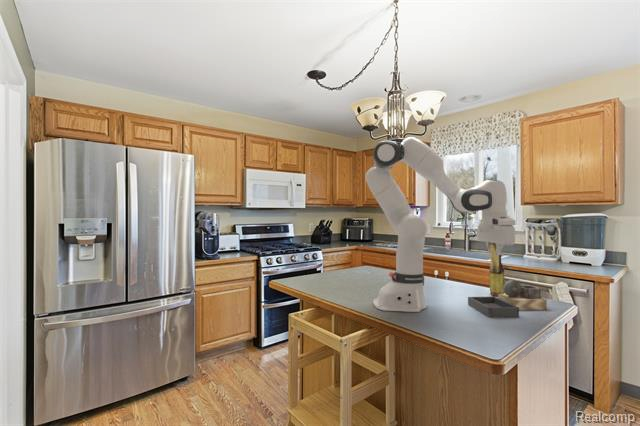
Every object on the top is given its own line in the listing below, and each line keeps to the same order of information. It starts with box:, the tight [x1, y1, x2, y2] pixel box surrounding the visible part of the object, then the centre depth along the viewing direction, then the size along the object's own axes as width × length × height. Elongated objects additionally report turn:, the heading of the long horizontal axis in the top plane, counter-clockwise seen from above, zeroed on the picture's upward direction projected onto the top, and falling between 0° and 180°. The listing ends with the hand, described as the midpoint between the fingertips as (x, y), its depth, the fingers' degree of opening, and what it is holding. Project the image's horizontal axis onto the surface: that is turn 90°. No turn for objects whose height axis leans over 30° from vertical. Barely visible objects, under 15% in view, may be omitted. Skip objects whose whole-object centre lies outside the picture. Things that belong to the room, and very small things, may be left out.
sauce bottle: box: [489, 254, 506, 297], centre depth 149 cm, size 6×6×20 cm
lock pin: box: [489, 243, 499, 272], centre depth 126 cm, size 3×3×12 cm
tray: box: [467, 295, 520, 318], centre depth 127 cm, size 16×12×4 cm
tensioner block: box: [497, 279, 548, 311], centre depth 132 cm, size 14×10×11 cm
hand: (494, 254), depth 126 cm, fingers closed on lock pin, 3 cm apart
